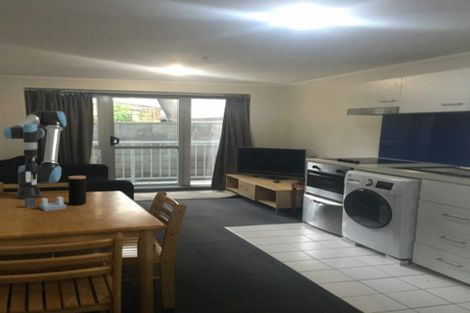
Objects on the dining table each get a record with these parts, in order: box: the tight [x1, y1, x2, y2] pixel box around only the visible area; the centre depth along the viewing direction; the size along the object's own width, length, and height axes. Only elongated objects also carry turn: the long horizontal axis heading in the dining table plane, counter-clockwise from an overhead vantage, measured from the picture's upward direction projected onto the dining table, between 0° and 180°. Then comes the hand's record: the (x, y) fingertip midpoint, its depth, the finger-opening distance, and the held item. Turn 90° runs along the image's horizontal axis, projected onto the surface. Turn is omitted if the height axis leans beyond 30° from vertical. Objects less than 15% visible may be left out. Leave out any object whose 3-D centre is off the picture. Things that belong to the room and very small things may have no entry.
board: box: [38, 196, 67, 212], centre depth 230 cm, size 14×12×6 cm
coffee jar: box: [68, 175, 87, 206], centre depth 242 cm, size 11×11×18 cm
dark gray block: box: [24, 198, 37, 209], centre depth 232 cm, size 4×5×5 cm
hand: (31, 183), depth 231 cm, fingers open, 13 cm apart
